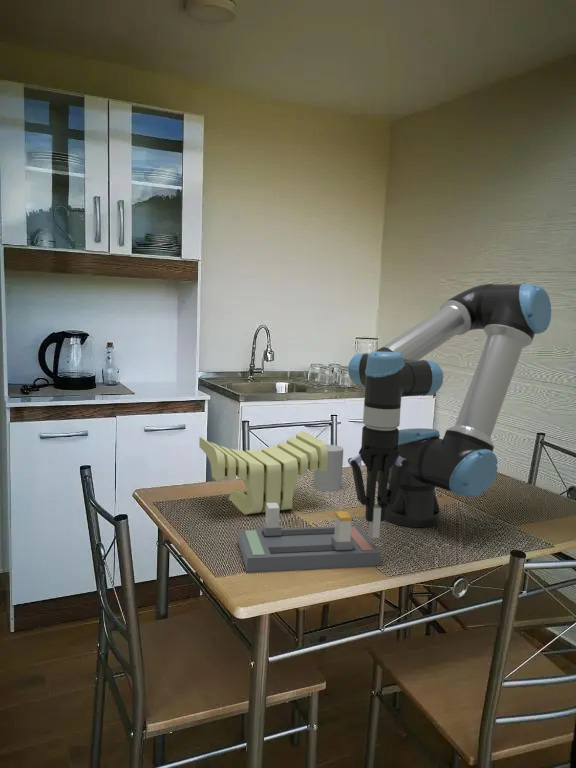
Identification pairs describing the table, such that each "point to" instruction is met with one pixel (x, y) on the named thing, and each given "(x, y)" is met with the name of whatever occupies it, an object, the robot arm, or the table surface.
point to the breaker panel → (301, 547)
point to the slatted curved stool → (267, 470)
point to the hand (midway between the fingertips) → (373, 535)
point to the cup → (330, 471)
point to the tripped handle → (342, 531)
